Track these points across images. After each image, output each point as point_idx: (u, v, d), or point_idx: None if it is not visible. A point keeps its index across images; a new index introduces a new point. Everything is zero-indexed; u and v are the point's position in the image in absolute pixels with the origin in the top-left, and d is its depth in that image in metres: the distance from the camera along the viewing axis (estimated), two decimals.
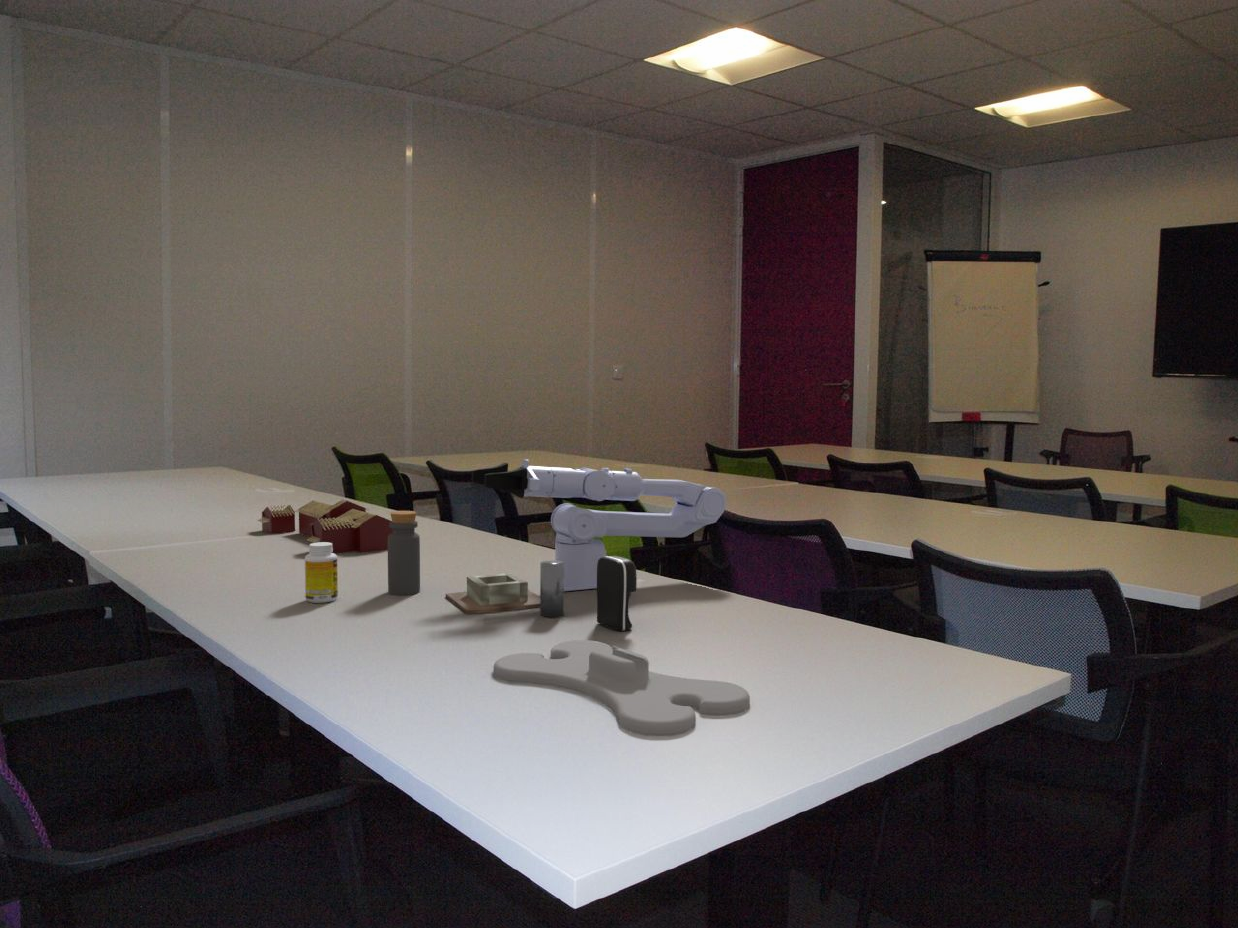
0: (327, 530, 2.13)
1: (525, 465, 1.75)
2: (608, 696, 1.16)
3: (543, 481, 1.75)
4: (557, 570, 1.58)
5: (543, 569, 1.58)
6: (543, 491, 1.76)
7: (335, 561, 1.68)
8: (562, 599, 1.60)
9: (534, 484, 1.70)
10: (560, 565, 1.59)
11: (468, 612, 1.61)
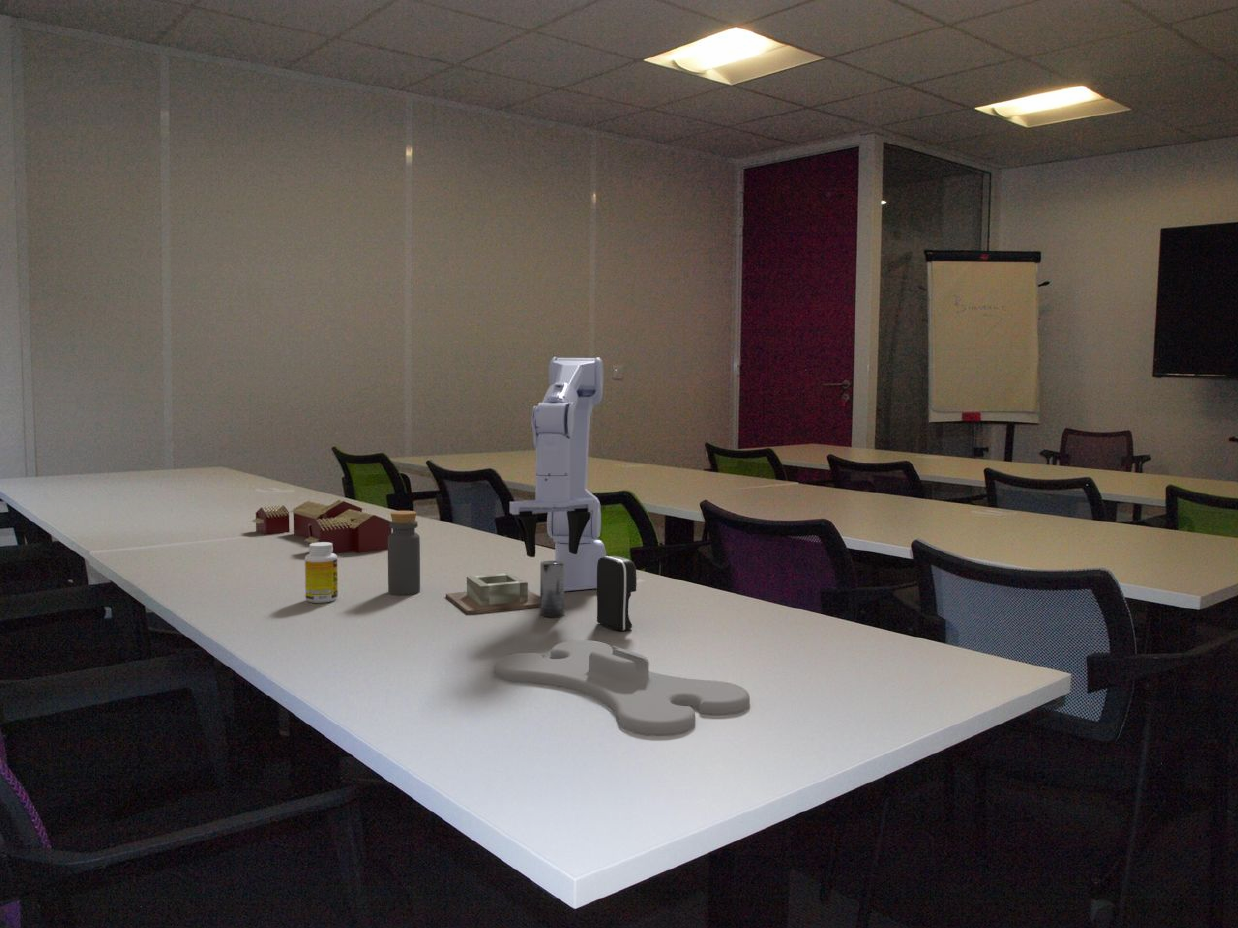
0: (325, 530, 2.12)
1: None
2: (608, 696, 1.16)
3: None
4: (557, 570, 1.58)
5: (543, 569, 1.58)
6: None
7: (335, 561, 1.68)
8: (562, 599, 1.60)
9: None
10: (560, 565, 1.59)
11: (468, 612, 1.61)
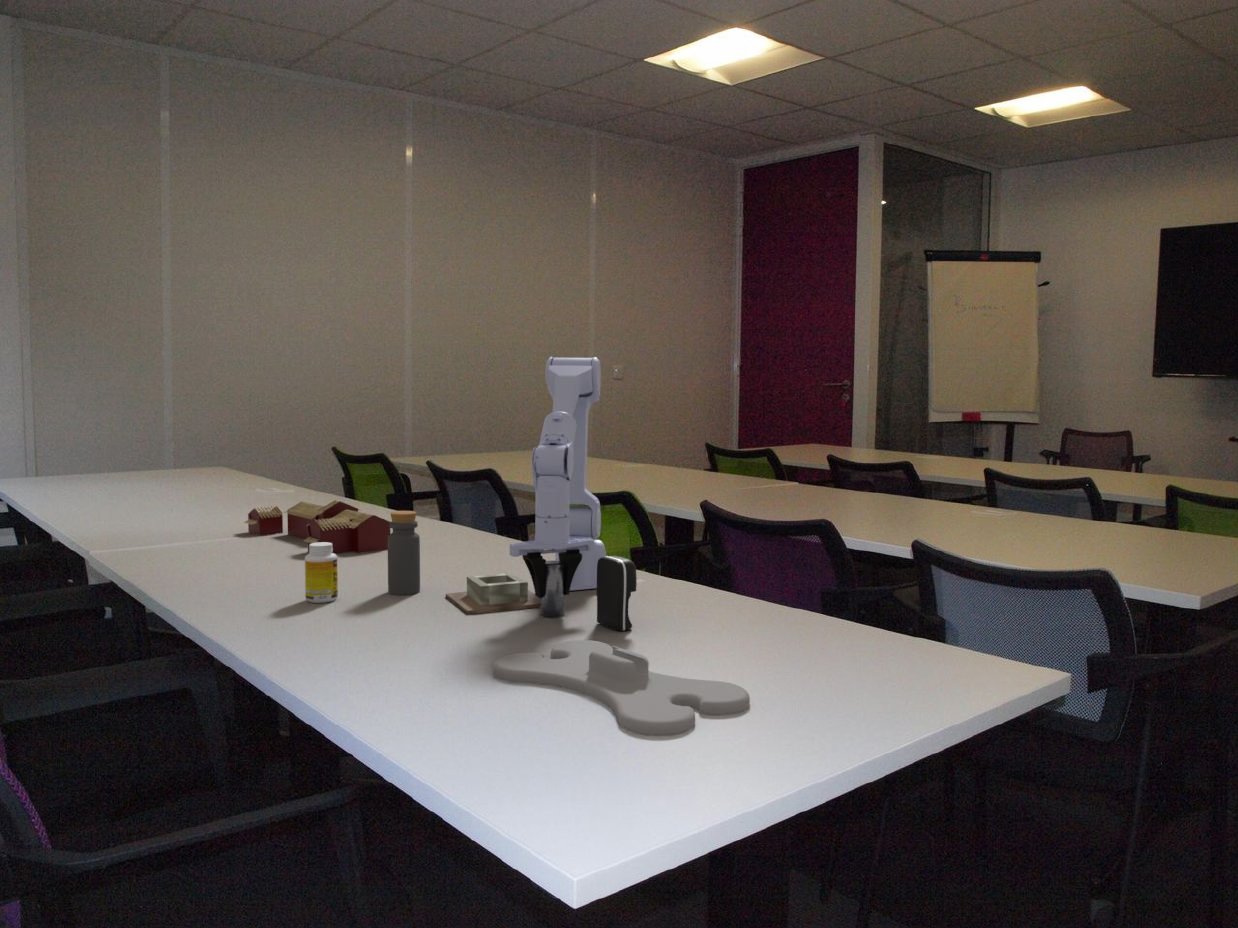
0: (325, 531, 2.12)
1: None
2: (608, 696, 1.16)
3: None
4: (557, 570, 1.58)
5: None
6: None
7: (335, 561, 1.68)
8: (562, 599, 1.60)
9: None
10: (560, 565, 1.59)
11: (468, 612, 1.61)
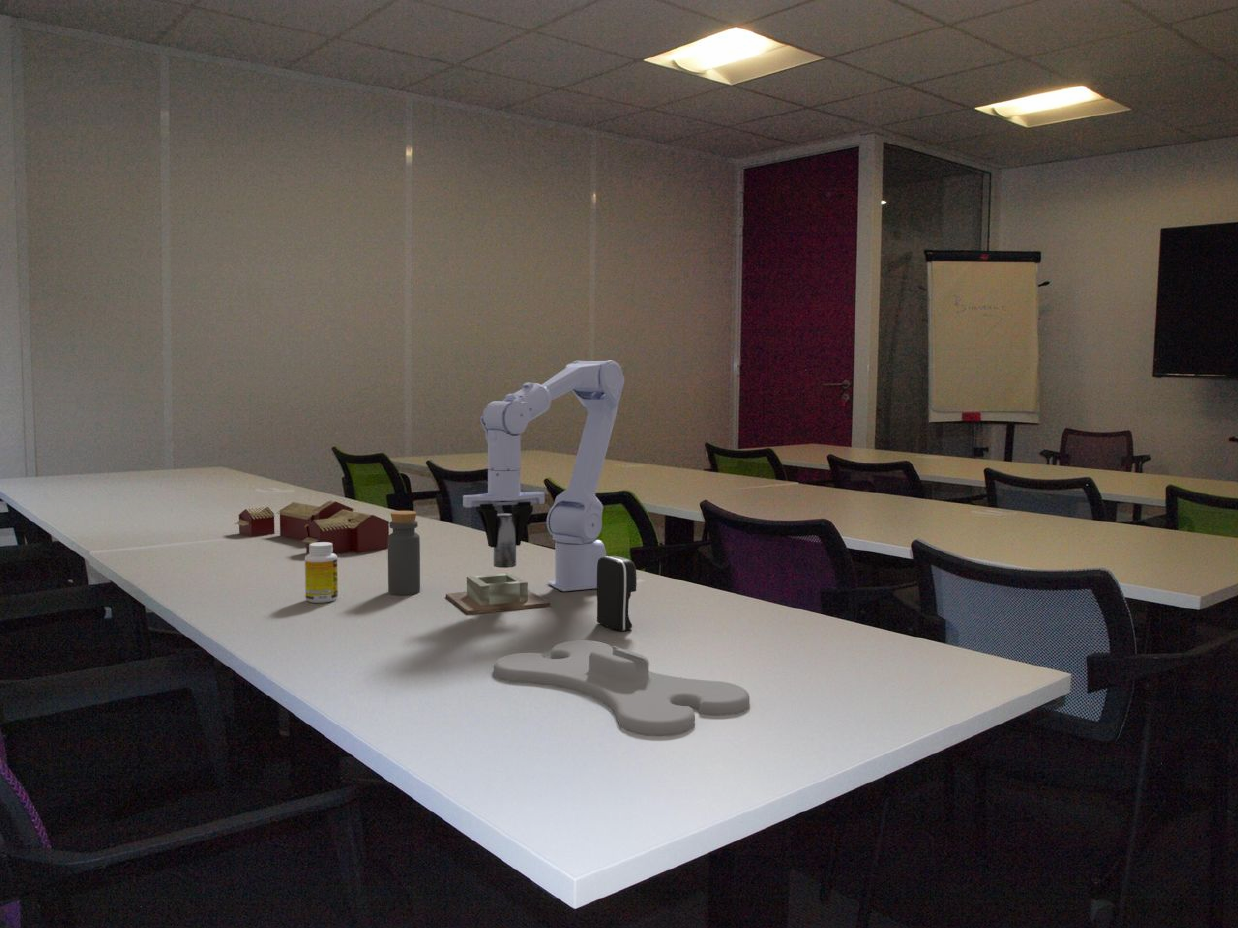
0: (325, 531, 2.11)
1: None
2: (608, 696, 1.16)
3: None
4: (510, 522, 1.65)
5: (497, 521, 1.65)
6: None
7: (335, 561, 1.68)
8: (515, 550, 1.67)
9: None
10: (513, 517, 1.66)
11: (468, 612, 1.61)
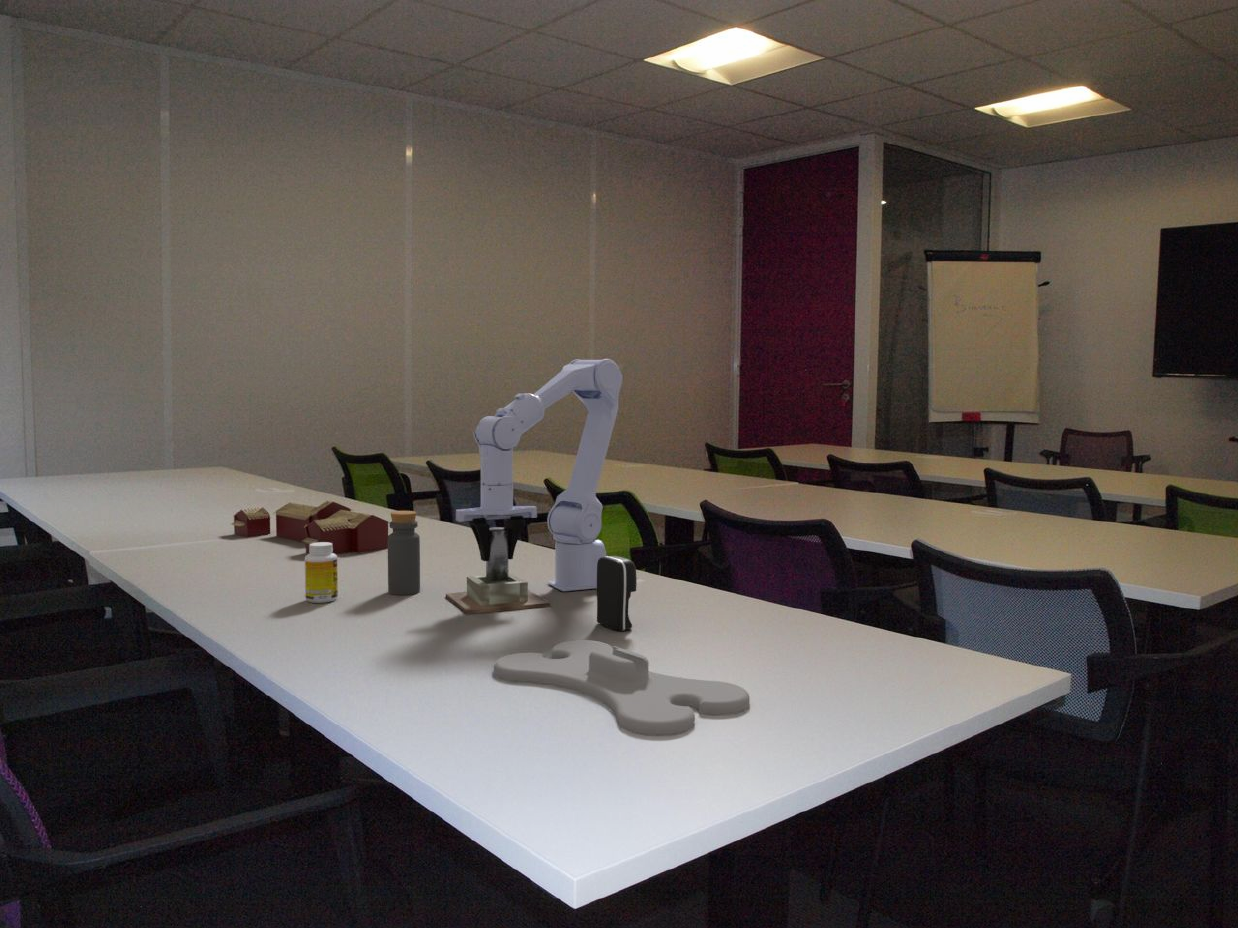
0: (325, 531, 2.11)
1: None
2: (608, 696, 1.16)
3: None
4: (503, 536, 1.67)
5: (489, 535, 1.67)
6: None
7: (335, 561, 1.68)
8: (507, 563, 1.68)
9: None
10: (505, 531, 1.67)
11: (468, 612, 1.61)
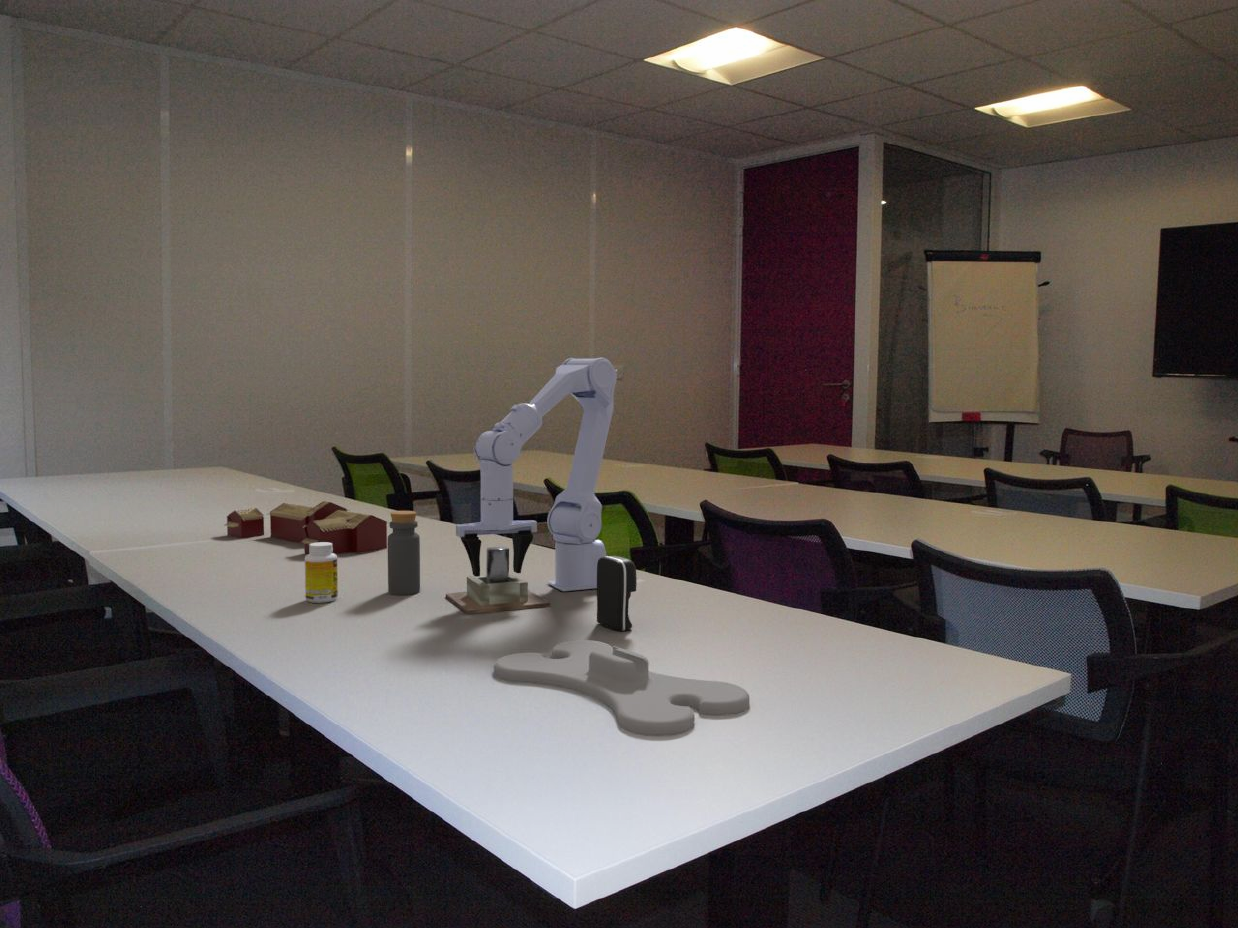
0: (325, 532, 2.11)
1: None
2: (607, 696, 1.16)
3: None
4: (503, 555, 1.67)
5: (490, 555, 1.67)
6: None
7: (335, 561, 1.68)
8: None
9: None
10: (506, 551, 1.68)
11: (468, 612, 1.61)
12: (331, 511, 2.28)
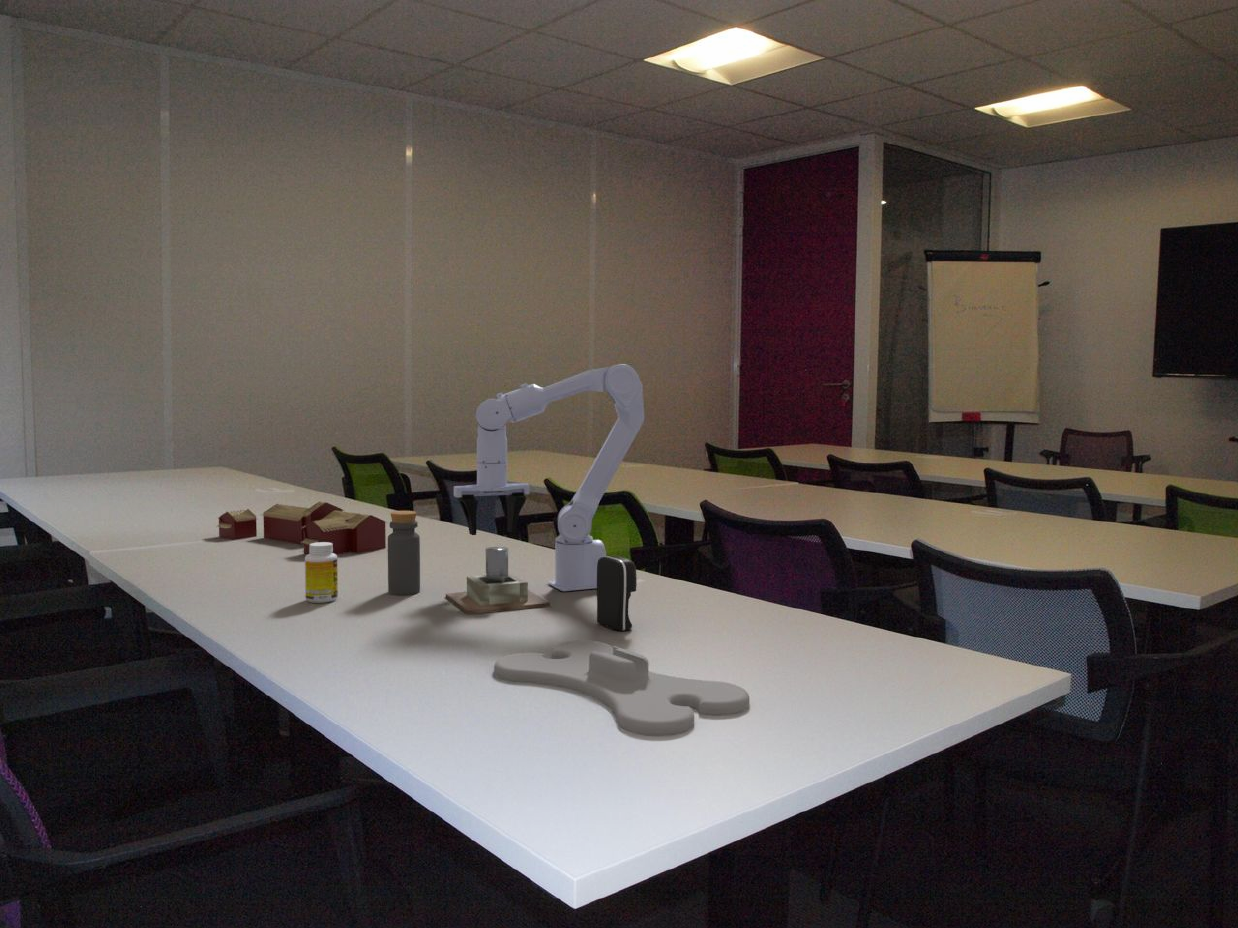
0: (325, 532, 2.10)
1: None
2: (607, 696, 1.16)
3: None
4: (502, 556, 1.67)
5: (489, 555, 1.67)
6: None
7: (335, 561, 1.68)
8: None
9: None
10: (505, 550, 1.68)
11: (468, 612, 1.61)
12: (327, 511, 2.27)
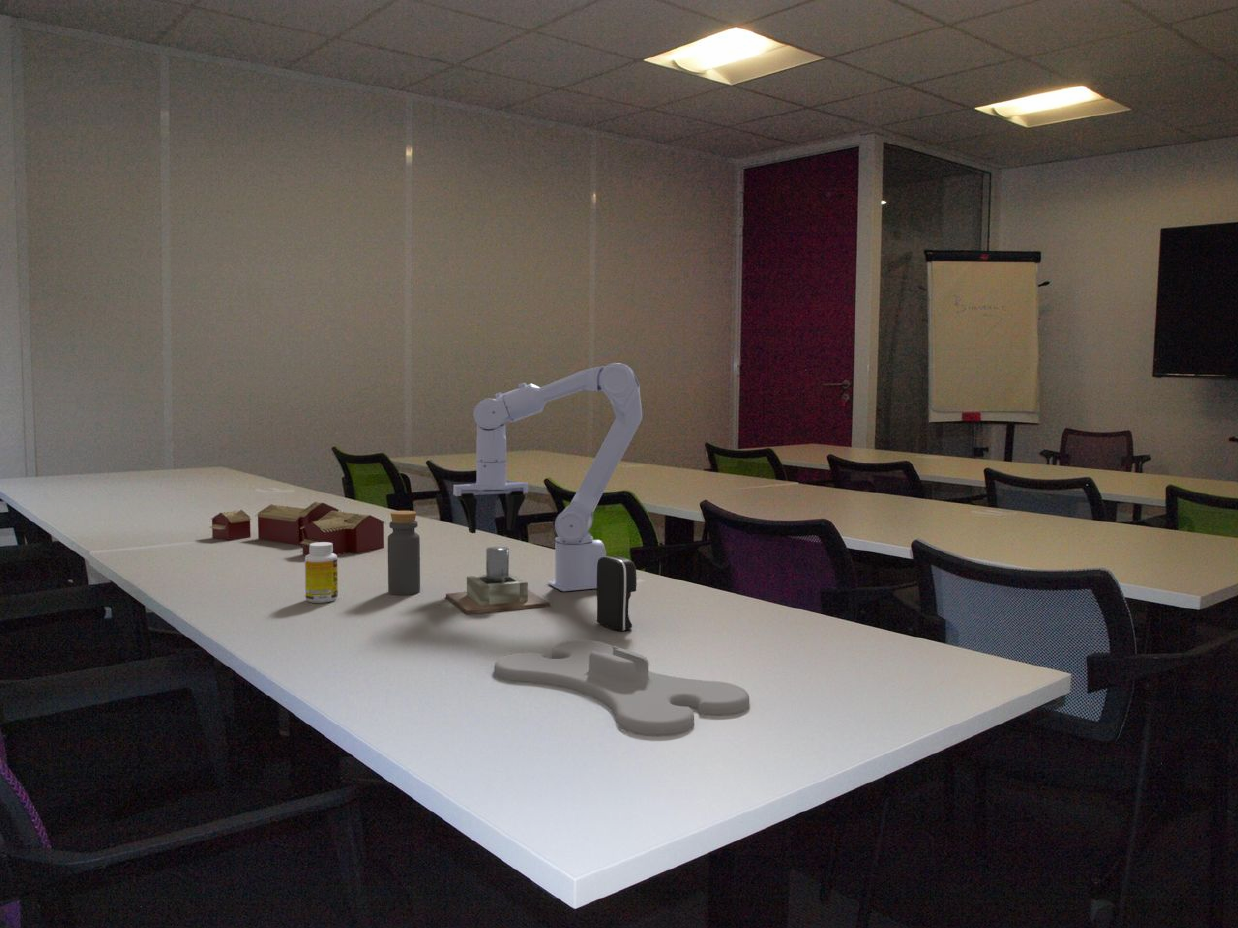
0: (325, 532, 2.10)
1: None
2: (607, 696, 1.16)
3: None
4: (503, 556, 1.67)
5: (490, 555, 1.67)
6: None
7: (335, 561, 1.68)
8: None
9: None
10: (505, 551, 1.68)
11: (468, 612, 1.61)
12: (324, 512, 2.26)
